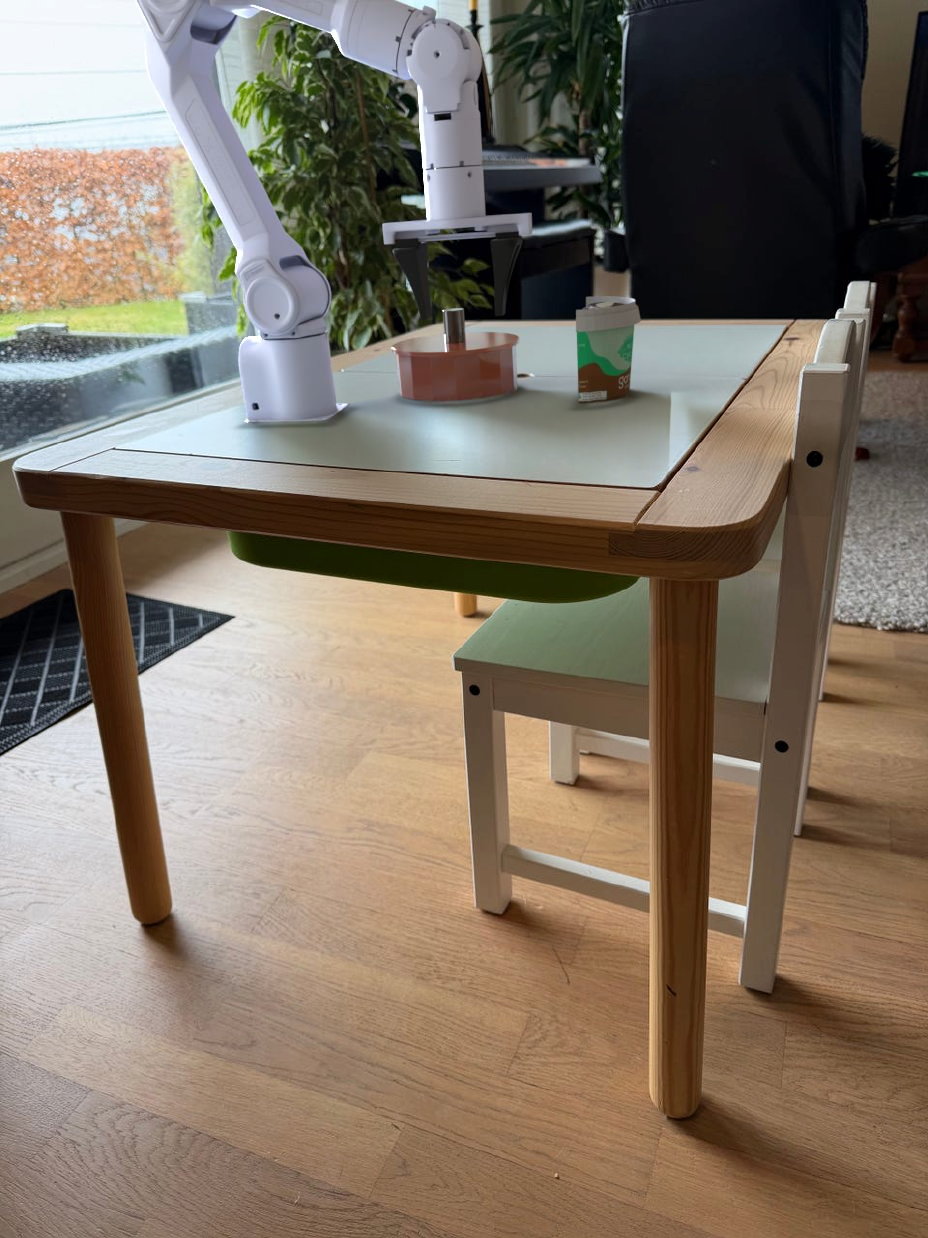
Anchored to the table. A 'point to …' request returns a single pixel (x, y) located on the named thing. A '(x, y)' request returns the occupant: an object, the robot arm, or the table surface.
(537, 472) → the table surface
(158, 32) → the robot arm
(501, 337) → the cover
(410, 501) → the table surface
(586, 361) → the food container
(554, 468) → the table surface
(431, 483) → the table surface
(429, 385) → the tin
